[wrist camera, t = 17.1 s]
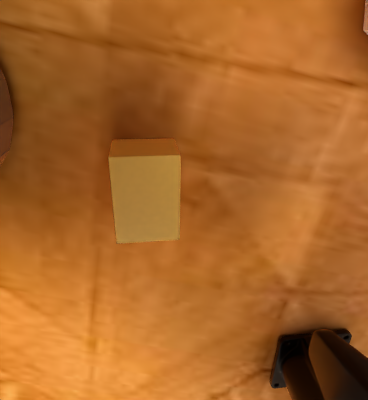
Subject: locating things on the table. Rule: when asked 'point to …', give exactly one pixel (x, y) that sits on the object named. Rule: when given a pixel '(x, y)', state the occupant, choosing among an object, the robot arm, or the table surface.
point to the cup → (366, 18)
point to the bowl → (5, 118)
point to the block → (145, 189)
